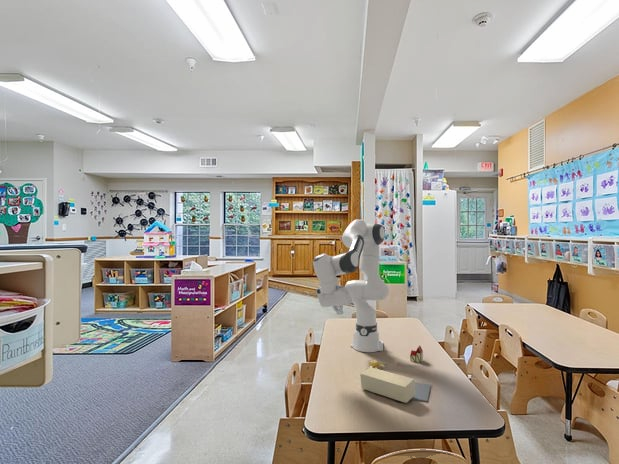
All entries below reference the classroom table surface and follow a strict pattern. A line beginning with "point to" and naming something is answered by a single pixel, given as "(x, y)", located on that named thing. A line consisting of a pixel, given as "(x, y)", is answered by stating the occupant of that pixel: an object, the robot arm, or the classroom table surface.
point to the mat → (421, 392)
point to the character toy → (374, 364)
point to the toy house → (417, 355)
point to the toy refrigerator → (388, 384)
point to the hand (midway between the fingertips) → (340, 314)
